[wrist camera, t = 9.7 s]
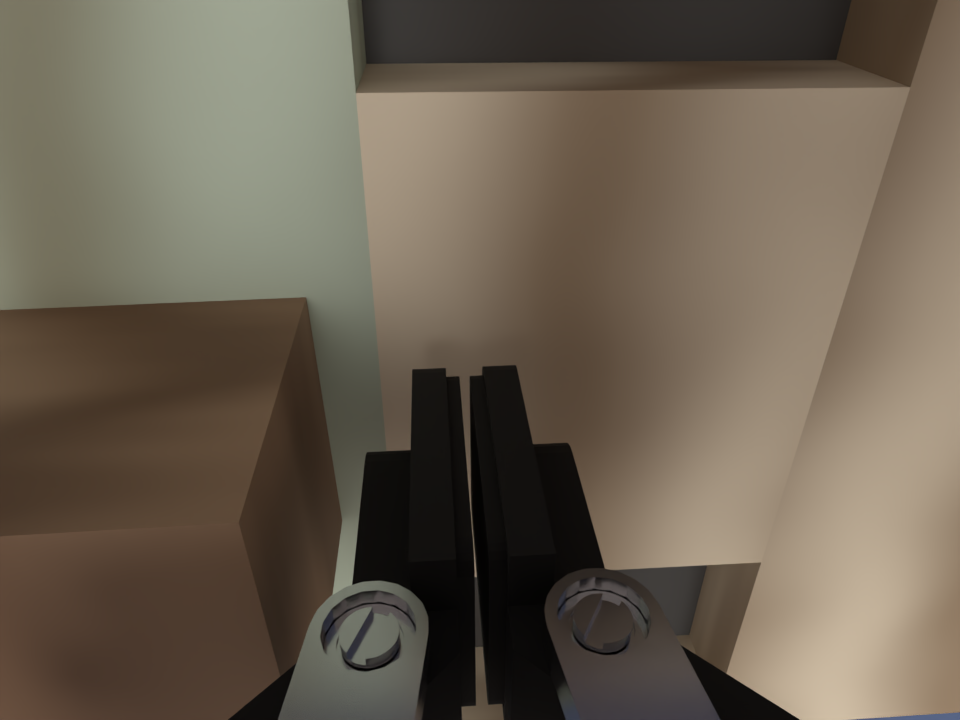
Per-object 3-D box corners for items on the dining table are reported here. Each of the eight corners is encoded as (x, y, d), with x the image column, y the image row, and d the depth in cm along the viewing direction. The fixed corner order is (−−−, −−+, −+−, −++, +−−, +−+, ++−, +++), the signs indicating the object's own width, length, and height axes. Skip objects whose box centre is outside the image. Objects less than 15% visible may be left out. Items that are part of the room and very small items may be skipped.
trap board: (1809, -463, 10) (2194, -566, 8) (1060, 625, 22) (1127, 701, 20) (-396, -553, 8) (-687, -716, 6) (132, 679, 20) (99, 768, 18)
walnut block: (306, 296, 11) (238, 523, 7) (342, 520, 14) (308, 779, 10) (-14, 310, 11) (-276, 551, 7) (85, 535, 14) (-61, 807, 10)
